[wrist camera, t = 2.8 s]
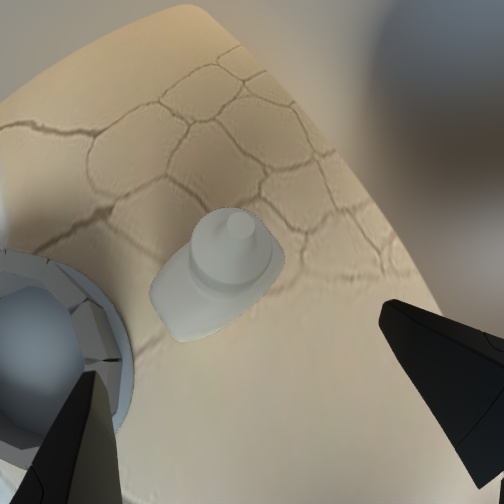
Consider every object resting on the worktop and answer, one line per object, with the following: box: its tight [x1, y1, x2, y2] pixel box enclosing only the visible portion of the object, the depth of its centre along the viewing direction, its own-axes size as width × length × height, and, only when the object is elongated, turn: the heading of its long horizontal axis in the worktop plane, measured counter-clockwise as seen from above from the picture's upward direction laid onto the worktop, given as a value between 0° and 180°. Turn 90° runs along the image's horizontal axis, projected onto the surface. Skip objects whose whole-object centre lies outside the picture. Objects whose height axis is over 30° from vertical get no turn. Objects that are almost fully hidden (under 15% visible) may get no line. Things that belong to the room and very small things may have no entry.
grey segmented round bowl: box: [0, 249, 134, 470], centre depth 13 cm, size 13×13×4 cm
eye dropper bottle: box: [149, 207, 285, 342], centre depth 13 cm, size 4×6×12 cm
